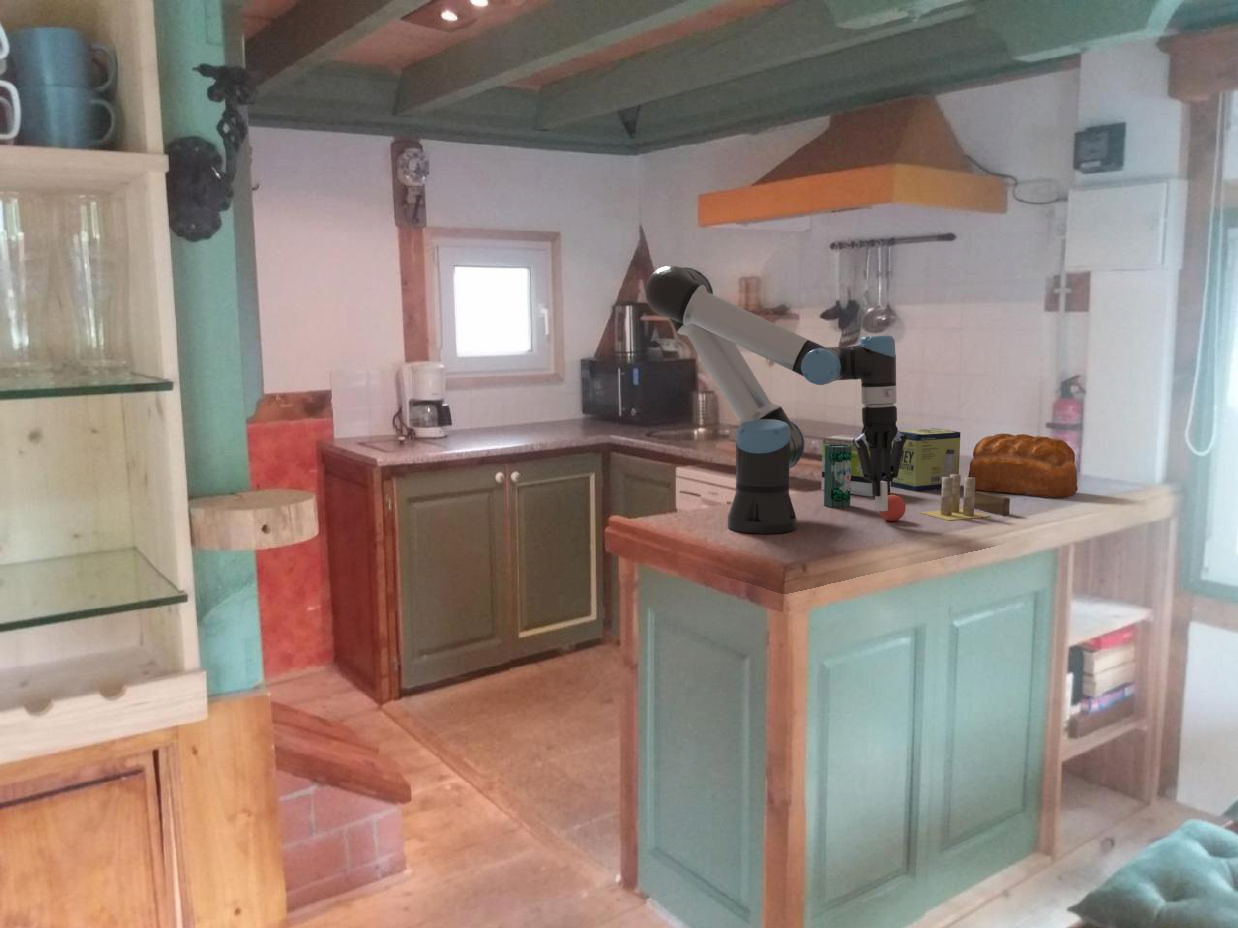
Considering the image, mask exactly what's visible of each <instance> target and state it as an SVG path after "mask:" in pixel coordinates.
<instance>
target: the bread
mask: <svg viewBox="0 0 1238 928" xmlns="http://www.w3.org/2000/svg"><path fill="white" fill-rule="evenodd" d="M1075 455H1076V454H1075V451H1074V449H1073V448H1072V447H1071V446H1070V445H1069V444H1068V443H1067V442H1066V441H1065V440H1063V439H1059V438H1058V439H1057V438H1051V437H1049V436H1041V435H1039V436H1038V435H1037V436H1033V435H1029V434H1026V433H1025V434H1024V433H1021V434H1014V435H1013V434H1010V433H996V434H994V435H989V436H985V437H983V438H982V439H980V440H979V441H978V442H977V443H976V444H975V446H974V447H973V452H972V456H973V457H972V458H971V461H970V462H969V471H968V476H967V477H972V478H975V491H976V490H977V491H983V492H984V491H986V492H993V493H994V492H995V493H1003V492H1004V494H1013V495H1014V494H1015V495H1023V494H1024V495H1025V496H1031V497H1033V496H1034V497H1041V498H1050V499H1065V498H1068V497H1072V496H1073V495H1075V494H1076V493H1077V491H1078V490H1079V488H1078V474H1077V473H1078V471H1077V467H1076V465H1075V460H1076V456H1075ZM1024 495H1023V496H1024Z"/></svg>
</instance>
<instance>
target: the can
mask: <svg viewBox="0 0 1238 928" xmlns="http://www.w3.org/2000/svg"><path fill="white" fill-rule="evenodd" d="M851 456H852V446H851V445H845V444H830V445H825V478H824V490H823V506H824V507H827V508H831V507H833V509H845V508H850V507H851V495H852V494H851Z"/></svg>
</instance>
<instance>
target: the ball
mask: <svg viewBox="0 0 1238 928" xmlns="http://www.w3.org/2000/svg"><path fill="white" fill-rule="evenodd" d="M906 506H907V505H906V503H905V501H904V499H903V498H901V497H900V496H899V495H896V494H890V495H888V511H879V510H878V512H879V515H880V516H881V518H882V519H884V520H886V521H888V522H889V521H890V522H896V521H898V520H900V519H901V518H903V517H904V515H905V513H906V510H907V509H906V508H907V507H906Z"/></svg>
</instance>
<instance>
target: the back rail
mask: <svg viewBox="0 0 1238 928" xmlns="http://www.w3.org/2000/svg"><path fill="white" fill-rule="evenodd" d="M1010 504H1011V498H1010V497H1006V496H1002V495H998V494H993V493H988V492H984V491H975V500H974V508H975V509H974V510H977V509H979V510H978V511H981V510H983V511H982V512H986V511H987V512H986V513H990V512H991V513H990V514H994V513H995V515H998V514H999V516H1002V515H1004V516H1010V507H1011V506H1010Z"/></svg>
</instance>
